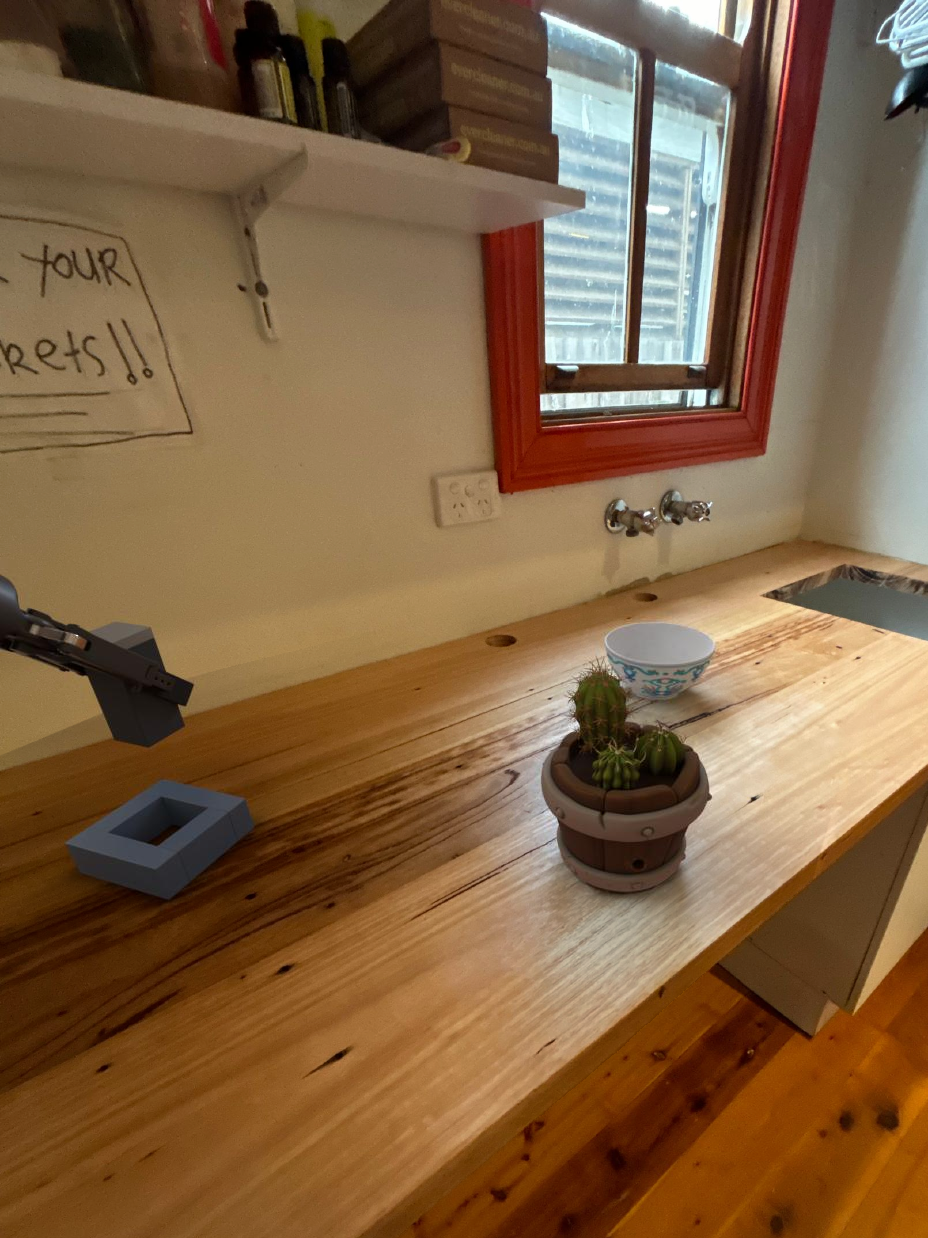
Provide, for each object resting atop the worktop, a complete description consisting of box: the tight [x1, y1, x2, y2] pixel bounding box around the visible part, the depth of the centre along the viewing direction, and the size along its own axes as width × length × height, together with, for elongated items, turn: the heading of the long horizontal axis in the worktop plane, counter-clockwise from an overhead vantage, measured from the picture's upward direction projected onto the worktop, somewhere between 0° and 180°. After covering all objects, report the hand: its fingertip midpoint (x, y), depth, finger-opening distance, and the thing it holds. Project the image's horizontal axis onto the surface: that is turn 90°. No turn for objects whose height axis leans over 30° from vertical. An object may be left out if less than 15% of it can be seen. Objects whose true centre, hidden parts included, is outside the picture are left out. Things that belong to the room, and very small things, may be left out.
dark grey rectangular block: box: [84, 620, 186, 749], centre depth 68 cm, size 5×5×12 cm
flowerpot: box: [540, 654, 713, 895], centre depth 56 cm, size 14×15×20 cm
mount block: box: [64, 778, 255, 900], centre depth 62 cm, size 11×11×4 cm
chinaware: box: [604, 621, 716, 701], centre depth 90 cm, size 15×15×8 cm
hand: (167, 690), depth 73 cm, fingers closed on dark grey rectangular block, 5 cm apart
